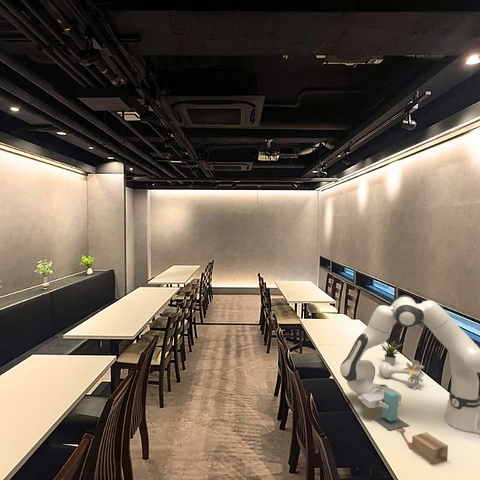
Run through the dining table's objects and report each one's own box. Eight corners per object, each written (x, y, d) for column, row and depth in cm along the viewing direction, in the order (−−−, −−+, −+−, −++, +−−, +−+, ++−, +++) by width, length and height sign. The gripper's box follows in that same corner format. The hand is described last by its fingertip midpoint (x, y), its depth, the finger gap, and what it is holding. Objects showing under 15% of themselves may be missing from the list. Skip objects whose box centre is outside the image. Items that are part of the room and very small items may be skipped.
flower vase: (380, 389, 224) (422, 393, 206) (372, 360, 224) (413, 361, 206) (390, 379, 233) (430, 383, 214) (381, 351, 233) (421, 352, 215)
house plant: (399, 361, 253) (400, 338, 252) (406, 369, 239) (407, 344, 238) (377, 360, 254) (378, 336, 253) (383, 368, 240) (384, 343, 239)
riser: (425, 446, 156) (426, 432, 155) (447, 460, 146) (447, 445, 146) (411, 450, 153) (412, 435, 152) (432, 464, 143) (433, 449, 143)
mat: (392, 415, 180) (393, 414, 180) (409, 426, 171) (409, 425, 171) (373, 419, 175) (373, 419, 175) (389, 431, 166) (389, 430, 166)
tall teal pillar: (390, 414, 177) (391, 390, 176) (397, 419, 173) (398, 394, 172) (382, 416, 175) (384, 391, 175) (389, 421, 171) (391, 395, 170)
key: (420, 451, 153) (408, 430, 168) (420, 449, 153) (408, 428, 168) (405, 448, 153) (394, 427, 168) (405, 446, 153) (395, 425, 168)
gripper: (356, 390, 181) (376, 403, 168) (388, 384, 188) (410, 396, 176) (355, 402, 181) (376, 416, 168) (387, 396, 189) (409, 409, 176)
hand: (393, 406), depth 172 cm, fingers closed on tall teal pillar, 4 cm apart
